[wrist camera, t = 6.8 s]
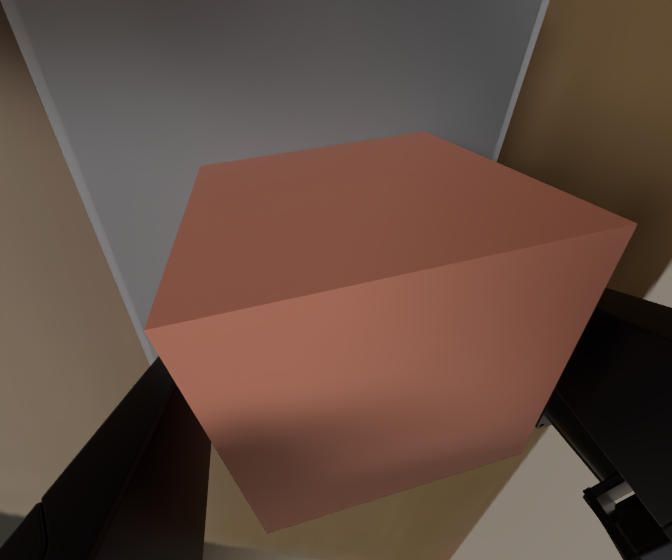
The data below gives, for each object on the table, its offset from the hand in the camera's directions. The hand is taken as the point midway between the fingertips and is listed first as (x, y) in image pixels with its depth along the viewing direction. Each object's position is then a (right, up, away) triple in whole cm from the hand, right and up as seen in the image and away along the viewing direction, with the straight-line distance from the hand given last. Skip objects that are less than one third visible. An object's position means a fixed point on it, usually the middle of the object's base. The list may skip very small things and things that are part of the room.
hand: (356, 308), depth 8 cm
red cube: (-1, +2, +2) cm, 3 cm away
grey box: (-2, +4, +5) cm, 7 cm away
